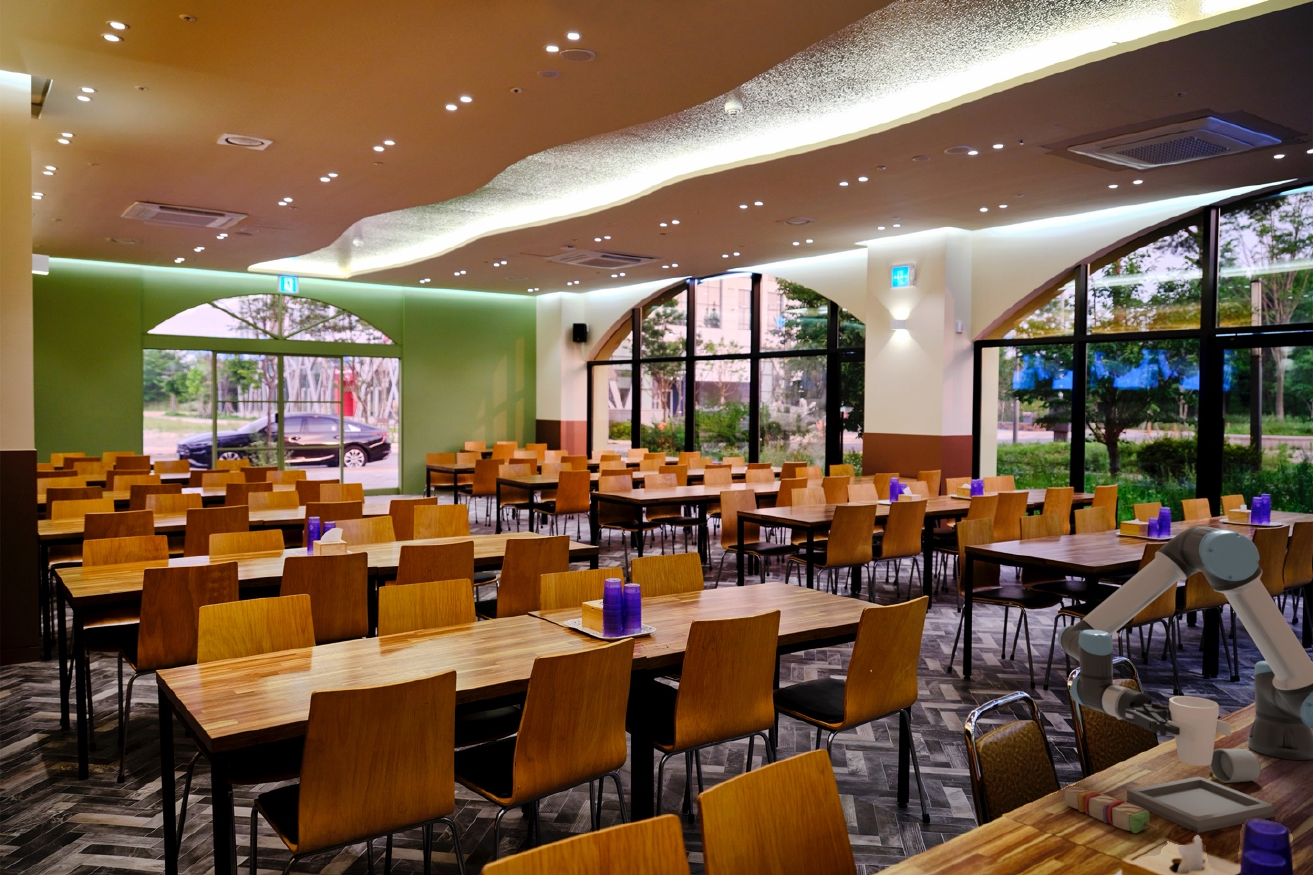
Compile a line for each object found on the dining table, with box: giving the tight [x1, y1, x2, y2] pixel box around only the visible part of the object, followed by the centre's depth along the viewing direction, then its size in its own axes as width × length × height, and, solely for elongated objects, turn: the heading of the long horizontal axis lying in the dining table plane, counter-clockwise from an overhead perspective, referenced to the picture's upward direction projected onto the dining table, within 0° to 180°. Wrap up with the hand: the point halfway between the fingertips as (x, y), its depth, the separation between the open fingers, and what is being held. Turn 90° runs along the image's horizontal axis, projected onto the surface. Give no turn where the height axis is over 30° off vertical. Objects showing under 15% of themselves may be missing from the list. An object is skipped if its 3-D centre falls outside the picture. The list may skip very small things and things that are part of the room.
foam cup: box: [1168, 695, 1220, 767], centre depth 200 cm, size 10×9×13 cm
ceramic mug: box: [1208, 748, 1262, 784], centre depth 217 cm, size 11×8×8 cm
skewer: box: [1063, 785, 1160, 834], centre depth 194 cm, size 21×6×5 cm, turn 28°
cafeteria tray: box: [1126, 775, 1275, 834], centre depth 200 cm, size 22×18×2 cm
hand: (1212, 732), depth 196 cm, fingers closed on foam cup, 9 cm apart
